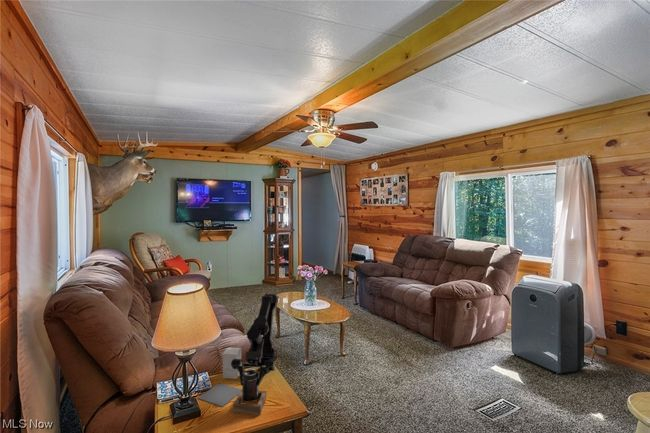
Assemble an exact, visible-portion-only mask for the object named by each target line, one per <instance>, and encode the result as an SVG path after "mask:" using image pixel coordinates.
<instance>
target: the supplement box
mask: <svg viewBox="0 0 650 433" xmlns="http://www.w3.org/2000/svg"><path fill="white" fill-rule="evenodd" d="M233 359H241V360H242V348H241V347H227V348H226V349H225V351H224V352H223V353H222V378H223V379H233V380H237V379H238V377H240V373H239V371H238V370H237V369H233V368H232V366H231V362H232V360H233Z"/></svg>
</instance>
